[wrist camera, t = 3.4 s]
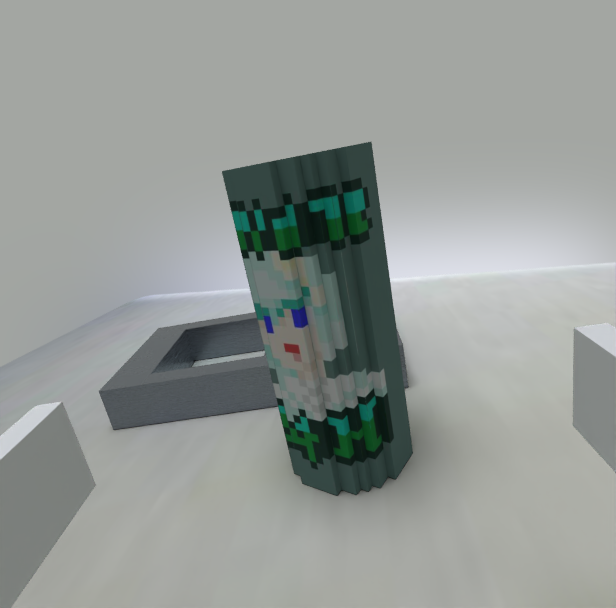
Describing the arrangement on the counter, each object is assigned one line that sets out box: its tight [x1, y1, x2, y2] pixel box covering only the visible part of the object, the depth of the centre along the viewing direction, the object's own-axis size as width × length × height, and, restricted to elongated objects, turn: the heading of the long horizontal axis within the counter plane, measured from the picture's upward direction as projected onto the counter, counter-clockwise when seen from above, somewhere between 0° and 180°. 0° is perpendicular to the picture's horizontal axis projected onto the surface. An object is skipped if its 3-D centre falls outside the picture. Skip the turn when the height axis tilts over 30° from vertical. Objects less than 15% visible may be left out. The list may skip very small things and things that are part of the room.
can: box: [222, 142, 413, 495], centre depth 21 cm, size 6×6×15 cm
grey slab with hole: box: [99, 312, 408, 430], centre depth 34 cm, size 20×11×3 cm, turn 88°
